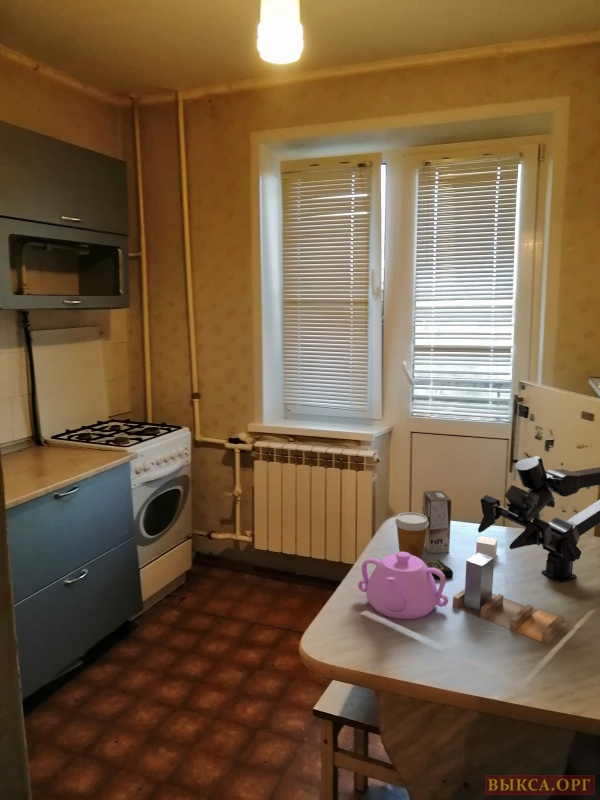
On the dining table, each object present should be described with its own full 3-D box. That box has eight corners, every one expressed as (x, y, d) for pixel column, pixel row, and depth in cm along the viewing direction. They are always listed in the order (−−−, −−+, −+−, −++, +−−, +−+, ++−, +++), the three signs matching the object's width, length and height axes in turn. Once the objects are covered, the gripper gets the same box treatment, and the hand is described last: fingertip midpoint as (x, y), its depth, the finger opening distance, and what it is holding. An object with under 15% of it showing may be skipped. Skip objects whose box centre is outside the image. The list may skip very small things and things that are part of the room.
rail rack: (477, 591, 155) (478, 579, 155) (569, 625, 140) (570, 611, 139) (452, 610, 146) (453, 596, 146) (546, 648, 131) (548, 633, 130)
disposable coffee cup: (432, 555, 177) (433, 515, 175) (420, 567, 169) (421, 526, 167) (401, 547, 182) (403, 509, 180) (388, 559, 174) (389, 519, 172)
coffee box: (450, 552, 179) (452, 500, 176) (428, 553, 178) (430, 501, 175) (440, 540, 188) (442, 490, 185) (420, 540, 187) (421, 490, 184)
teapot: (341, 625, 140) (342, 569, 138) (367, 583, 160) (368, 534, 157) (438, 645, 132) (441, 586, 130) (452, 599, 152) (454, 546, 149)
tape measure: (453, 582, 161) (454, 568, 160) (431, 585, 159) (431, 572, 158) (440, 570, 167) (441, 558, 167) (418, 574, 165) (418, 561, 165)
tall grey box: (476, 598, 150) (478, 552, 148) (491, 604, 147) (494, 557, 145) (464, 607, 146) (466, 560, 144) (479, 613, 143) (482, 565, 141)
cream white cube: (478, 551, 179) (479, 535, 179) (496, 554, 177) (497, 538, 176) (475, 558, 175) (476, 542, 174) (493, 561, 173) (494, 545, 172)
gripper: (497, 465, 159) (459, 500, 152) (563, 493, 145) (524, 532, 138) (502, 497, 165) (465, 531, 158) (566, 526, 150) (528, 565, 144)
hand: (494, 539), depth 149 cm, fingers open, 9 cm apart
